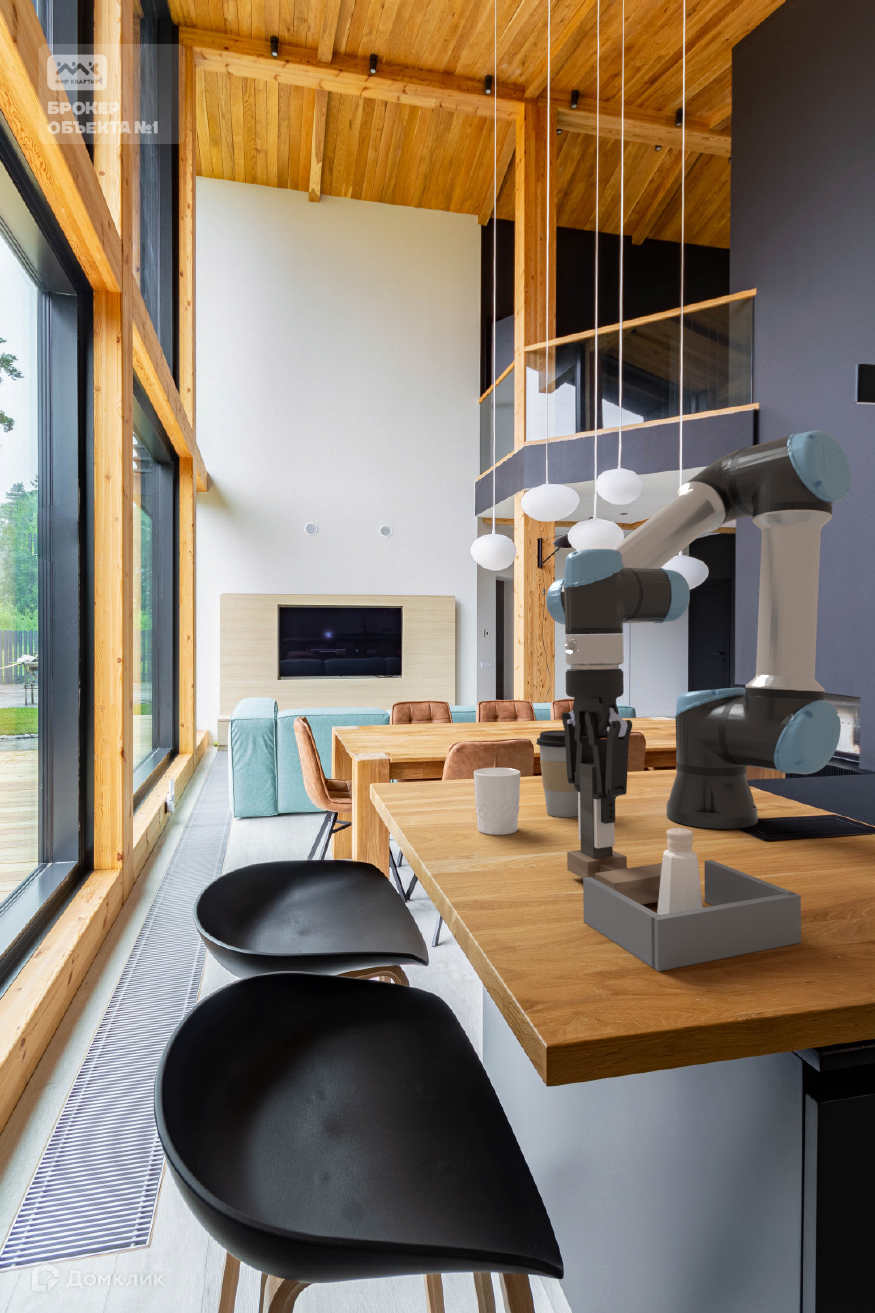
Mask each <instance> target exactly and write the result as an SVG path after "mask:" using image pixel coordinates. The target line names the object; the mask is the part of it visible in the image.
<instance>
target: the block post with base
mask: <svg viewBox="0 0 875 1313" xmlns="http://www.w3.org/2000/svg"><path fill="white" fill-rule="evenodd" d="M593 794H597V786H596V776H595V765H594V762H592V763H581V764H580V832H581V841H580V849H576V850H569V851H567V852H566V856H567V857H566V863H567V870H566V871H568V872H570V873H572V874H574V875H575V876H577V877H579V878H581V879H583V878H587V877H592V878H594V879H595V880H597V881H599V882H601V883H603V884H605V885H606V886H608V887H610V888H612V889H614V890H615V891H617V892H619V893H621V894H623V895H625V896H626V897H628V898H630V899H632V900H634V901H635V902H637V903H639V904H641V905H646V904H652V903H658V900H659V889H660V879H661V869H662V862H660V863H652V864H647V865H640V866H634V867H627V866H628V863H627V861H628V856H627V855H624V854H622V853H620V852H617V851H616V850H614V849H613V847H614V846H611V847H604V848H595V847H594V802H593V796H592V795H593Z"/></svg>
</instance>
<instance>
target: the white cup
mask: <svg viewBox="0 0 875 1313" xmlns="http://www.w3.org/2000/svg"><path fill="white" fill-rule="evenodd" d="M473 778H474V779H473V782H474V798H475V812H476V821H477V830H478V832H479V833H481V834H482V833H483V834H486V835H492V836H493V835H494V836H495V835H496V836H504V835H510V834H514V833H516V832H517V831H518V829H519V817H518V816H519V812H520V810H519V809H520V806H519V804H520V796H521V795H520V794H521V792H520V791H521V789H520V788H521V771H520V770H518V769H515V768H512V767H511V768H509V767H485V768H478V769H475V770H474V771H473Z"/></svg>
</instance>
